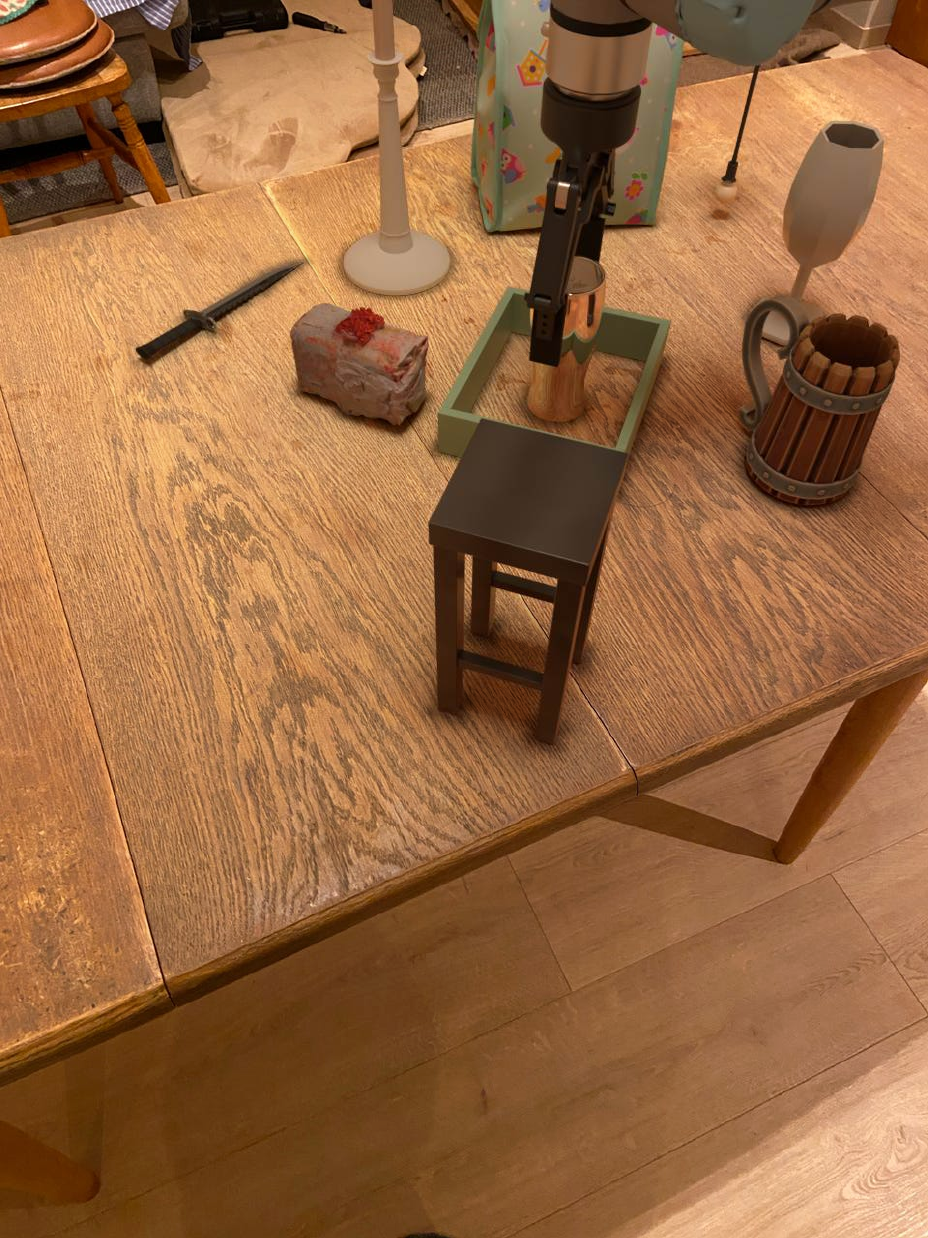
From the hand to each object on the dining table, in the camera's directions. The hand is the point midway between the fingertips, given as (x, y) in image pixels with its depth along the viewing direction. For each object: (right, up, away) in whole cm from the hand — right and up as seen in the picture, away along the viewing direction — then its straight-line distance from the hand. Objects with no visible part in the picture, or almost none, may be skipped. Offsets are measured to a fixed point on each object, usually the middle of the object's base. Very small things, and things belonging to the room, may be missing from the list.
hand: (564, 319), depth 85 cm
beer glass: (0, -6, +8) cm, 10 cm away
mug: (+22, -12, +4) cm, 25 cm away
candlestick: (-18, +14, +23) cm, 32 cm away
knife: (-37, +7, +17) cm, 41 cm away
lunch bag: (+3, +25, +31) cm, 40 cm away
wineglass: (+27, +5, +17) cm, 32 cm away
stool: (-6, -33, -12) cm, 36 cm away
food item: (-20, -6, +8) cm, 22 cm away
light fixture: (+23, +23, +30) cm, 44 cm away
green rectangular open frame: (0, -6, +8) cm, 10 cm away
